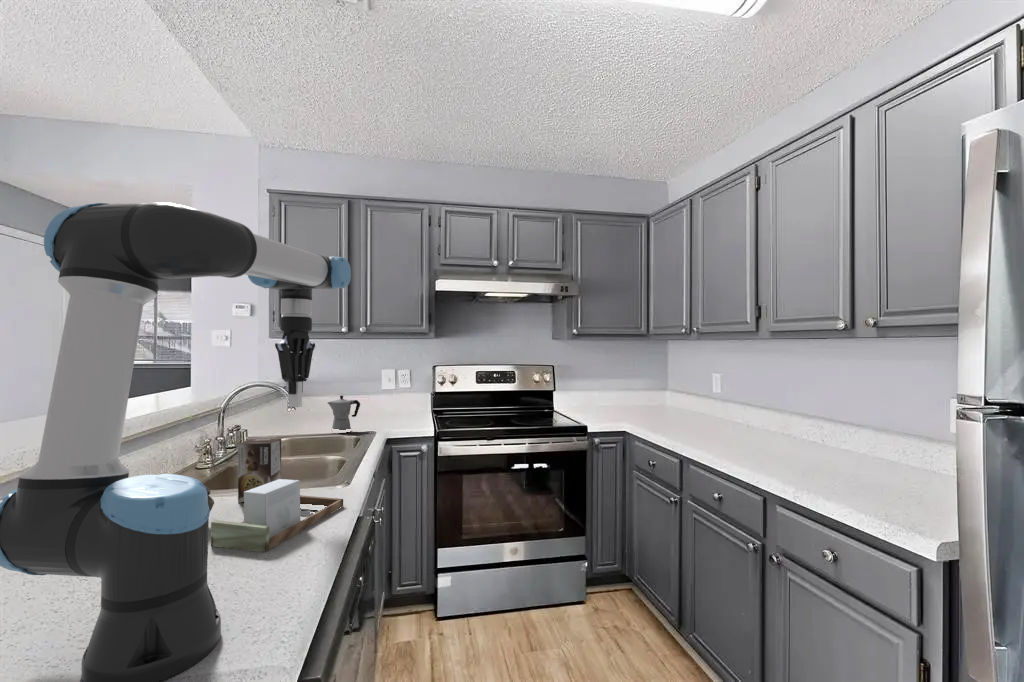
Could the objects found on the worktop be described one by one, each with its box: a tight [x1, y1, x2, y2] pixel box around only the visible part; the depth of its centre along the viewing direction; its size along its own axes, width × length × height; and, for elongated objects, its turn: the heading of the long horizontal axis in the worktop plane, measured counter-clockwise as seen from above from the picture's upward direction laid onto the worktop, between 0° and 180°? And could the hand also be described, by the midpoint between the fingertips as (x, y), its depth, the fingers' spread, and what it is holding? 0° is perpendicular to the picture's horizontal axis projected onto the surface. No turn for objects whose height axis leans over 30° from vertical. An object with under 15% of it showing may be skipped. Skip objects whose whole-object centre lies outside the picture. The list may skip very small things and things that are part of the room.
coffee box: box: [237, 438, 282, 503], centre depth 128 cm, size 9×6×16 cm
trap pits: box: [300, 508, 318, 517], centre depth 119 cm, size 8×12×1 cm, turn 77°
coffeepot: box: [327, 395, 361, 430], centre depth 229 cm, size 15×9×18 cm, turn 100°
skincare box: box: [243, 478, 302, 538], centre depth 106 cm, size 10×6×10 cm, turn 163°
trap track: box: [210, 494, 344, 553], centre depth 110 cm, size 28×13×5 cm, turn 167°
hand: (295, 406), depth 121 cm, fingers closed
